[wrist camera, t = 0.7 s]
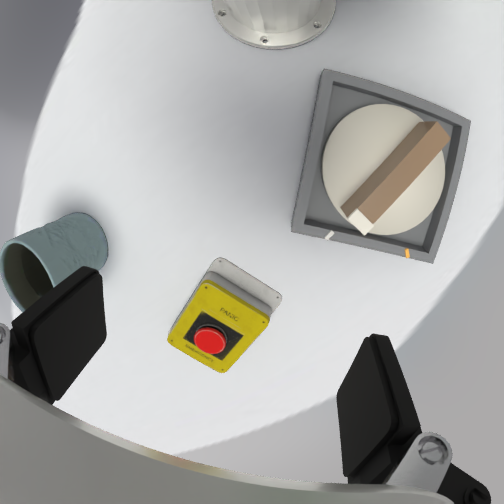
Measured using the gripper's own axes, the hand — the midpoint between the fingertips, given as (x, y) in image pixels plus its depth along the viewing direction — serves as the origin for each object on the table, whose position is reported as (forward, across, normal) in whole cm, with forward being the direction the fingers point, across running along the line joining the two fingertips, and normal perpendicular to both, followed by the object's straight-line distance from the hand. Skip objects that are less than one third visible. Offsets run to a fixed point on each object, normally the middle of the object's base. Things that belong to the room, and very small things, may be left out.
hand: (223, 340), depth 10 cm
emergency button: (+24, +3, +16) cm, 29 cm away
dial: (+22, -11, -6) cm, 25 cm away
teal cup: (+24, +23, +10) cm, 35 cm away
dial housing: (+23, -11, -6) cm, 26 cm away
